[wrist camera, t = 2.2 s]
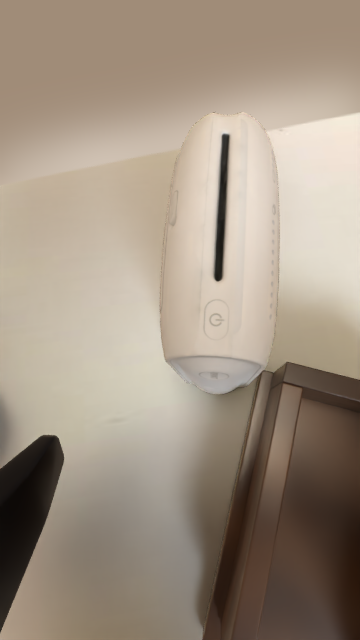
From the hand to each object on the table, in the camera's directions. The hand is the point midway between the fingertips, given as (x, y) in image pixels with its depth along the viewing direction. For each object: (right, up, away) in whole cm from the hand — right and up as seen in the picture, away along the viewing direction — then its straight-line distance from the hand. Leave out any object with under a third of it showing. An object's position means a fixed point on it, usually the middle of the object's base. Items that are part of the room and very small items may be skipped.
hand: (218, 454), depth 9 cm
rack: (+6, -7, +9) cm, 13 cm away
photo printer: (+2, +4, +13) cm, 14 cm away
